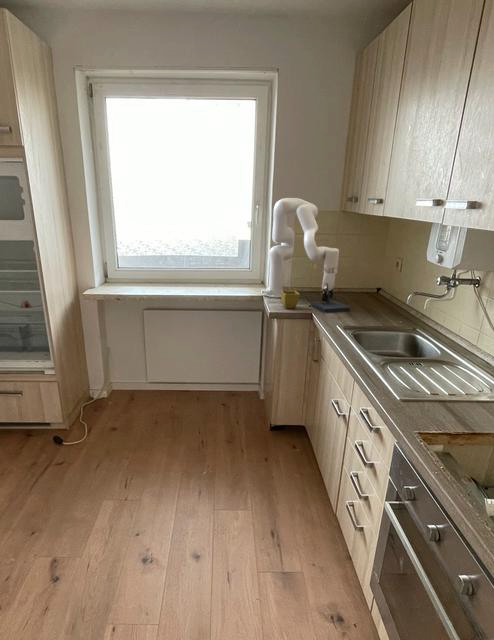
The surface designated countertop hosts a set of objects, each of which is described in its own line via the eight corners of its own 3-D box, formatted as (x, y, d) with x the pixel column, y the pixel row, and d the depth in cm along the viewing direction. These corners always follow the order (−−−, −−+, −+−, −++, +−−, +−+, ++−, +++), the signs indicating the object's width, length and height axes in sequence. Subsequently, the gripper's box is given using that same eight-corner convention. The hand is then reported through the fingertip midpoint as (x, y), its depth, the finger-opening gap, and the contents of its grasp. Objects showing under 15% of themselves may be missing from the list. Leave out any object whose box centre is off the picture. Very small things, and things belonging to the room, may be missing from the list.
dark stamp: (324, 308, 243) (326, 294, 240) (319, 305, 249) (320, 292, 246) (334, 307, 245) (336, 293, 242) (329, 304, 250) (330, 291, 247)
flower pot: (293, 305, 248) (295, 290, 245) (298, 309, 240) (299, 293, 237) (279, 305, 247) (280, 290, 243) (284, 309, 239) (285, 294, 235)
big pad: (324, 312, 234) (325, 309, 233) (311, 305, 248) (311, 302, 247) (349, 310, 238) (350, 307, 237) (335, 303, 252) (335, 300, 252)
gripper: (328, 267, 248) (325, 295, 254) (319, 272, 234) (316, 301, 240) (340, 268, 244) (337, 297, 251) (332, 273, 230) (329, 303, 237)
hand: (327, 299), depth 245 cm, fingers open, 9 cm apart
